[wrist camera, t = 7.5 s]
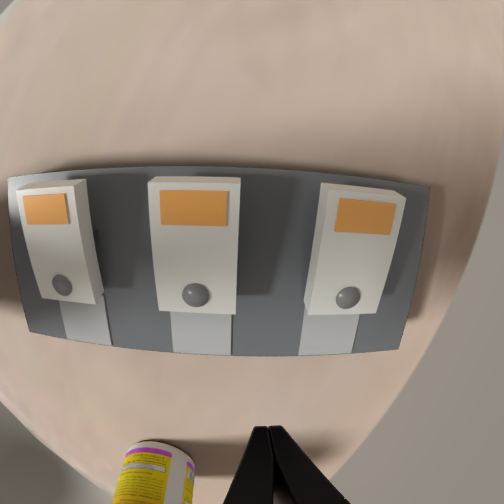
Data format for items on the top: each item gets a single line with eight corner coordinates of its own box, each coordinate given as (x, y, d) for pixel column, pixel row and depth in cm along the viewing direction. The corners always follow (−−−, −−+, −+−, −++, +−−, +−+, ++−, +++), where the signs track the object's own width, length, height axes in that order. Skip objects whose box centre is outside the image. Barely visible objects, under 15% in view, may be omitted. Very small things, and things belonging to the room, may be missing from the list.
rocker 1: (104, 291, 15) (95, 305, 13) (51, 286, 14) (41, 299, 13) (86, 178, 12) (72, 186, 11) (29, 183, 12) (14, 191, 10)
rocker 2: (367, 299, 15) (376, 314, 14) (303, 300, 15) (308, 316, 14) (394, 190, 13) (407, 198, 11) (321, 182, 12) (329, 190, 11)
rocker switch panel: (50, 312, 18) (25, 335, 15) (35, 174, 16) (2, 178, 12) (380, 327, 20) (401, 353, 16) (403, 183, 17) (435, 187, 14)
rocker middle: (235, 299, 15) (235, 315, 14) (164, 296, 15) (158, 311, 14) (240, 177, 12) (240, 184, 11) (155, 176, 12) (147, 183, 11)
